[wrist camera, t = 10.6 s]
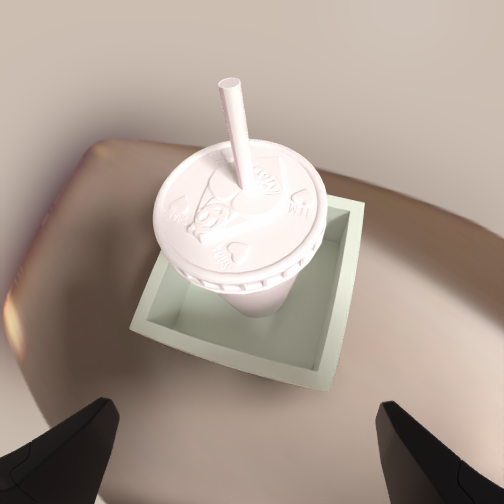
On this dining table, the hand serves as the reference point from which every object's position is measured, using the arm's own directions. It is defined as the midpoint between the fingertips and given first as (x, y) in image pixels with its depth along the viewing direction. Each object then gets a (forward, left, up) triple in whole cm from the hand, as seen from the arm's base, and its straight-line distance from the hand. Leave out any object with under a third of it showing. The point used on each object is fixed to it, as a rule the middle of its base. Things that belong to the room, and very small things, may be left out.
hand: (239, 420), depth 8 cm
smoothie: (+7, +2, -9) cm, 11 cm away
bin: (+7, +2, -9) cm, 12 cm away
